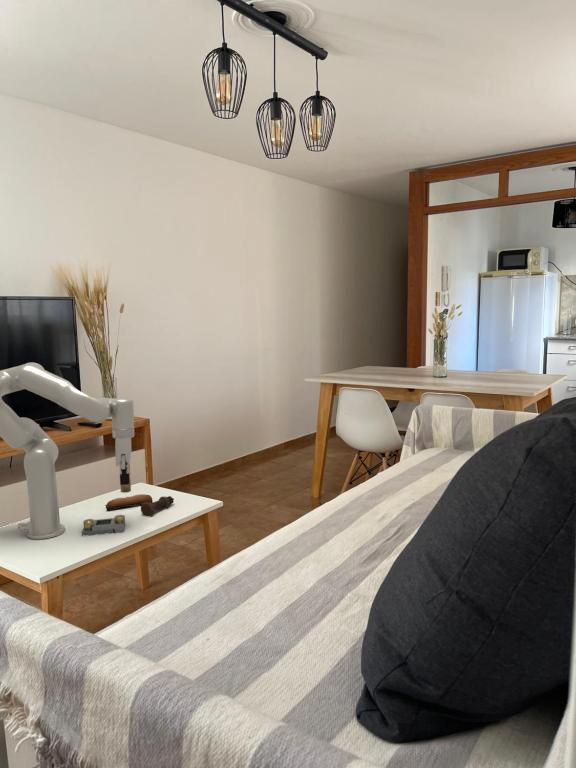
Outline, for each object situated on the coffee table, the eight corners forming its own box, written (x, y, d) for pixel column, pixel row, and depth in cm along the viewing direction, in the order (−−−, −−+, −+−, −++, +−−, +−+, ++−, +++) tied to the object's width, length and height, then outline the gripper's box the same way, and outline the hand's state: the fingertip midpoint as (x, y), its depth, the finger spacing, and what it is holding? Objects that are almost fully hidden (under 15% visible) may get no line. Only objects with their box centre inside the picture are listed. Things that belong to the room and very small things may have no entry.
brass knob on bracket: (82, 536, 203) (81, 523, 202) (84, 528, 209) (84, 516, 209) (124, 531, 205) (123, 519, 205) (126, 524, 212) (125, 513, 212)
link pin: (119, 493, 208) (117, 457, 207) (119, 489, 213) (118, 454, 211) (131, 492, 209) (130, 456, 208) (132, 488, 214) (131, 454, 212)
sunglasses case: (148, 498, 243) (149, 486, 239) (152, 510, 238) (153, 499, 234) (103, 505, 235) (103, 493, 231) (106, 518, 230) (106, 507, 226)
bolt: (173, 509, 234) (147, 520, 221) (164, 501, 236) (138, 511, 222) (178, 497, 232) (153, 507, 219) (169, 490, 234) (144, 499, 221)
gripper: (114, 428, 216) (116, 477, 218) (110, 437, 200) (112, 490, 202) (135, 427, 217) (137, 476, 219) (133, 436, 201) (134, 488, 203)
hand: (125, 482), depth 211 cm, fingers closed on link pin, 3 cm apart
